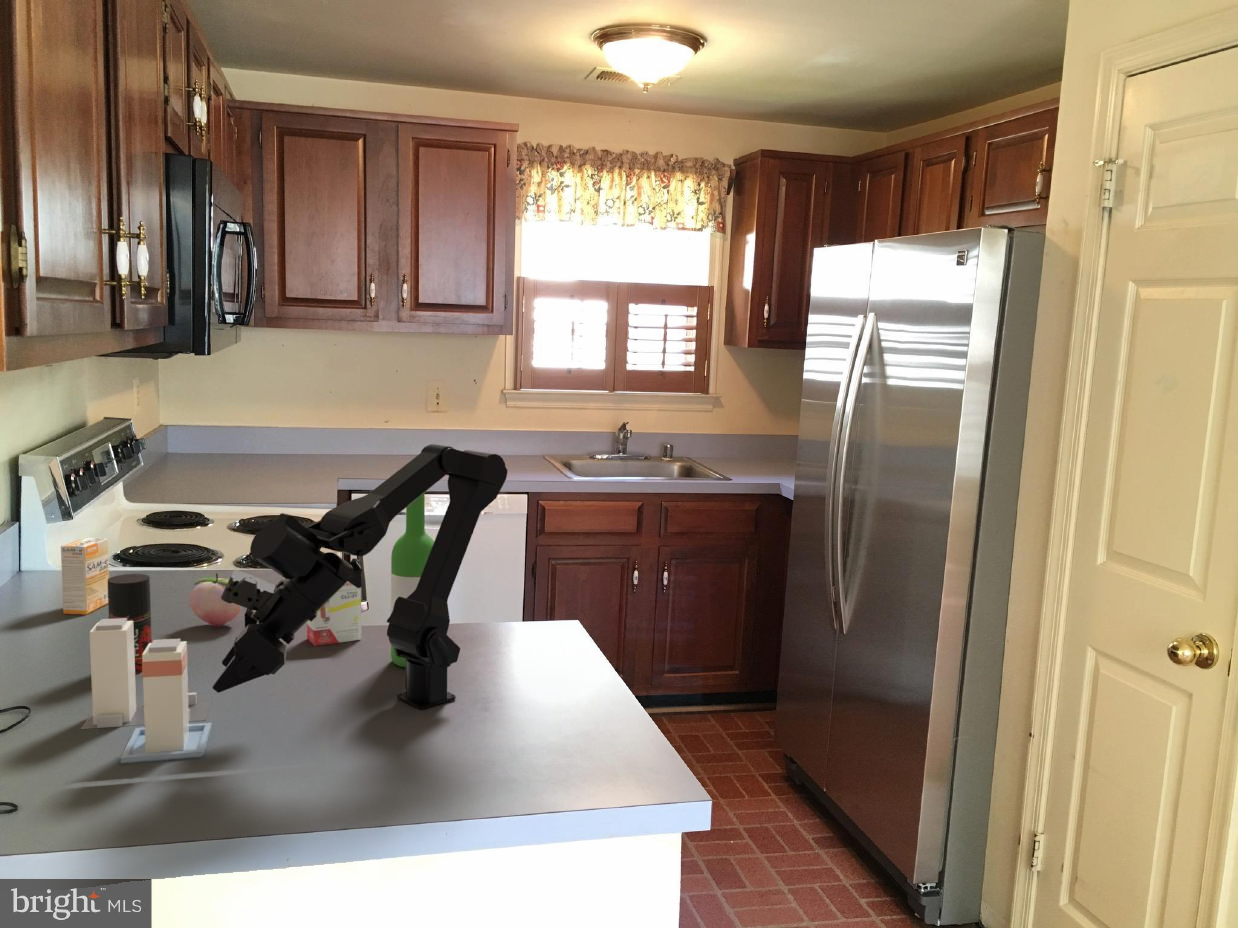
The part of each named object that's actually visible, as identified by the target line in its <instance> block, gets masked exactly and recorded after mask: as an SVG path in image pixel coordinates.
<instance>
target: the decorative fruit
mask: <svg viewBox="0 0 1238 928" xmlns="http://www.w3.org/2000/svg"><path fill="white" fill-rule="evenodd" d="M215 577H216V578H215ZM215 577H204V578H203V577H202V578H200V579H198V580H196V581H195V583H194V584H193V585H194V586H195V587H194V588H193V590H192V591H191V593H190V596H189V606H190V609H191V611H193V613H194V614H195V615H196V616H197V618H199V620H202V621H203V622H205V623H206V624H209V625H211V626H213V627H218V628H219V627H222V626H223V625H226V624H227V623H229V622H232V620H234V619H235V618H237V617H238V615H239V614H240V612H241V610H242V609H243V607H242V606H240V605H237V604H234V603H231V604H230V603H227V602H225V601H223V600H222V599H221V596H222V594H223V591H224V589H225V587H226V585H227V583H228V581H229V579H230V578H219V574H218V573H217V572H216V573H215Z"/></svg>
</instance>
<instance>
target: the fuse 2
mask: <svg viewBox="0 0 1238 928" xmlns="http://www.w3.org/2000/svg"><path fill="white" fill-rule="evenodd" d="M187 643H188V642H187V641H181V638H166V639H163V638H162V639H152V643H149V644H148V646H147V647H146V649H145V651H144V652H143V654H142V672H141V673H142V684H143V685H142V689H143V706H144V721H145V725H144V727H145V751H146V753H148V752H161V751H174V750H184V748H185V745H186V743H187V740H188V737H189V724H190V722H189V710H188V693H189V681H188V677H189V676H188V661H189V659H188V646H187V645H188V644H187Z"/></svg>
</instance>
